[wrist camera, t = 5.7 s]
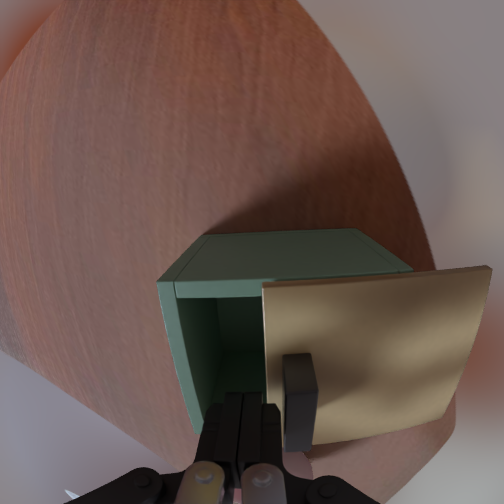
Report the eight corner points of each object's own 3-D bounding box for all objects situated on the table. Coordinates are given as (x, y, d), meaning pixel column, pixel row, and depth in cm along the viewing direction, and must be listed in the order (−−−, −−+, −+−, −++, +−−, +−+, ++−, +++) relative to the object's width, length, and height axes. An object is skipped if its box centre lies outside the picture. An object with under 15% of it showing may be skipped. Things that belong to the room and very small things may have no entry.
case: (200, 234, 20) (155, 281, 11) (356, 227, 19) (414, 269, 11) (215, 353, 23) (194, 434, 14) (347, 347, 22) (378, 424, 14)
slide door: (261, 281, 11) (260, 320, 8) (486, 264, 10) (524, 287, 7) (269, 440, 14) (268, 481, 11) (439, 411, 13) (456, 443, 10)
